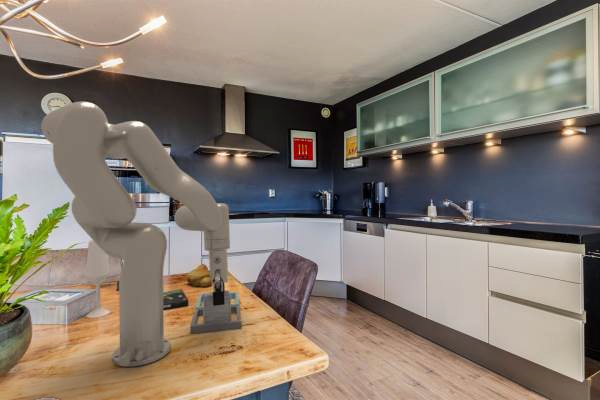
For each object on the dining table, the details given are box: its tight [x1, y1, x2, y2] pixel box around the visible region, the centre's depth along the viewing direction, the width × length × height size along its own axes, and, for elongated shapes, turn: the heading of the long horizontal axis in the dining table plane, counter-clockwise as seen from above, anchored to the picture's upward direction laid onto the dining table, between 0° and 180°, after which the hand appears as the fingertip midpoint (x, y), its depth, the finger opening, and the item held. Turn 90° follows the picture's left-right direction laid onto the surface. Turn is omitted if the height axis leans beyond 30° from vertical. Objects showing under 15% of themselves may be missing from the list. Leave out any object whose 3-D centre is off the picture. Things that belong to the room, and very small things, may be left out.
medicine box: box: [202, 289, 232, 324], centre depth 95 cm, size 8×4×9 cm, turn 111°
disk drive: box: [163, 289, 189, 311], centre depth 112 cm, size 10×3×15 cm
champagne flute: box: [85, 239, 111, 319], centre depth 102 cm, size 7×7×24 cm
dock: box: [189, 291, 242, 334], centre depth 102 cm, size 29×14×2 cm, turn 13°
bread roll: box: [186, 263, 212, 288], centre depth 136 cm, size 13×10×8 cm
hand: (219, 299), depth 96 cm, fingers open, 9 cm apart
